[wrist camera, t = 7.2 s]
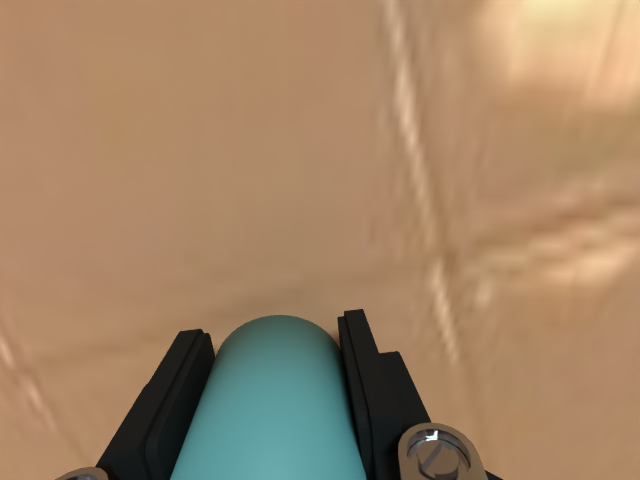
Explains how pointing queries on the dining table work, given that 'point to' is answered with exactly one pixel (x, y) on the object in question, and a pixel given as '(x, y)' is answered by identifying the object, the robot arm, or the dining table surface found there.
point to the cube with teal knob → (274, 409)
